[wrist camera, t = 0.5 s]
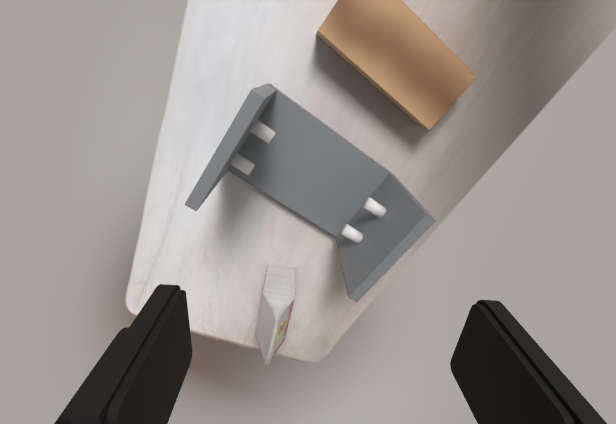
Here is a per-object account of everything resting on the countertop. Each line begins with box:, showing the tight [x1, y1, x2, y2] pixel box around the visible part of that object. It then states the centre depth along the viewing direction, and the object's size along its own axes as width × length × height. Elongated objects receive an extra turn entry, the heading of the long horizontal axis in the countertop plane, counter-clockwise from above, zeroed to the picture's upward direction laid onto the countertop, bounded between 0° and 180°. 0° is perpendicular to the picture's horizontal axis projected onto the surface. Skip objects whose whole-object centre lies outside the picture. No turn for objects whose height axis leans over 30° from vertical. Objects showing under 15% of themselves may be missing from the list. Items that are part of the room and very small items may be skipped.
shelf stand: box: [185, 84, 435, 302], centre depth 29 cm, size 10×17×12 cm, turn 55°
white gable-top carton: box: [255, 263, 296, 366], centre depth 37 cm, size 4×7×10 cm, turn 168°
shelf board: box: [316, 0, 476, 130], centre depth 29 cm, size 6×14×4 cm, turn 53°
